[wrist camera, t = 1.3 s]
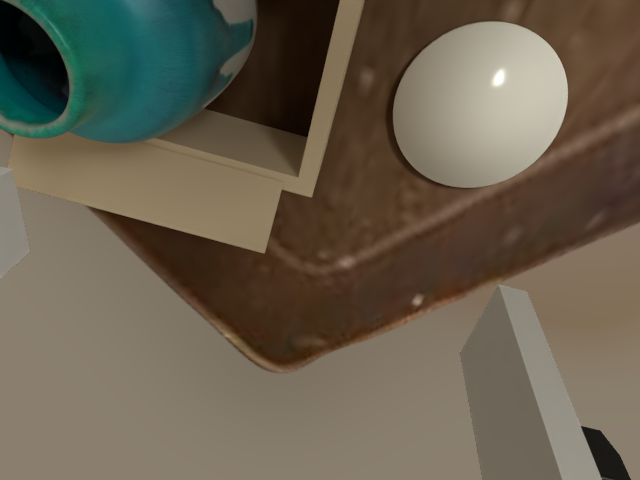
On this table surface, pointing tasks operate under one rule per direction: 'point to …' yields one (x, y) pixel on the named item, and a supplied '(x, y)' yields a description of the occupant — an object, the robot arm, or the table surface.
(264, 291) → the table surface
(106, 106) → the vase
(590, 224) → the table surface
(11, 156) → the carton
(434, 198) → the table surface
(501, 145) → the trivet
